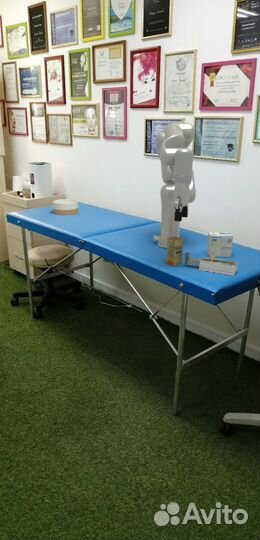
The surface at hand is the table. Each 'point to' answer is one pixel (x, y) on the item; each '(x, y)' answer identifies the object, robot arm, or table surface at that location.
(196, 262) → the plunger
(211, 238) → the light bulb box
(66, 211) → the bowl
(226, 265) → the gauge rail
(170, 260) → the shoe polish box
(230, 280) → the table surface
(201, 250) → the table surface
